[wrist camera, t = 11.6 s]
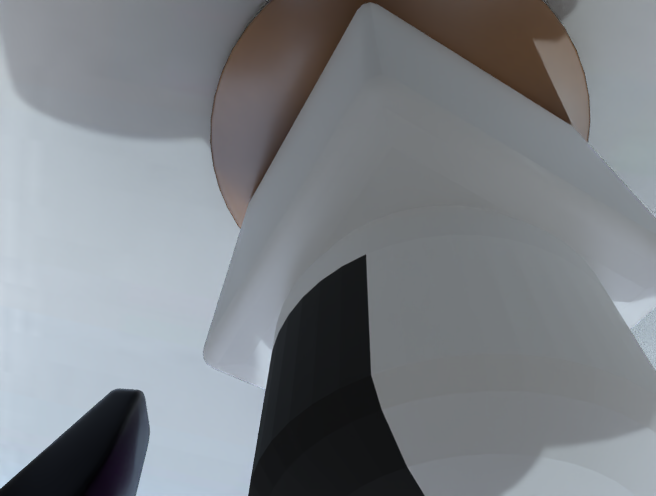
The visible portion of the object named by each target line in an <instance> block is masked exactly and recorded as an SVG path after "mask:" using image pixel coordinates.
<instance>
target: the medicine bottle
mask: <svg viewBox="0 0 656 496" xmlns="http://www.w3.org/2000/svg"><path fill="white" fill-rule="evenodd" d="M655 308H656V218H655V217H654V216H653V215H652V214H651V213H650V212H649V210H648V209H647V208H646V207H645V206H644V205H643V204H642V203H641V201H640V200H639V199H638V198H637V197H636V196H635V195H634V194H633V193H632V191H631V190H630V189H629V188H628V187H627V186H626V185H625V184H624V183H623V181H622V180H621V179H620V178H619V177H618V176H617V175H616V174H615V173H614V171H613V170H612V169H611V168H610V167H609V166H608V165H607V164H606V163H605V161H604V160H603V159H602V158H601V157H600V156H599V155H598V154H597V152H596V151H595V150H594V149H593V148H592V147H591V146H590V145H589V144H588V142H587V141H586V140H585V139H584V138H583V137H582V136H581V135H580V134H579V132H578V131H577V130H576V129H575V128H574V127H573V126H571V125H570V124H568V123H566V122H565V121H563V120H562V119H560V118H558V117H557V116H555V115H554V114H552V113H550V112H549V111H547V110H546V109H544V108H542V107H541V106H539V105H538V104H536V103H534V102H533V101H531V100H530V99H528V98H526V97H525V96H523V95H522V94H520V93H518V92H517V91H515V90H514V89H512V88H510V87H509V86H507V85H506V84H504V83H503V82H501V81H499V80H498V79H496V78H495V77H493V76H491V75H490V74H488V73H487V72H485V71H483V70H482V69H480V68H479V67H477V66H475V65H474V64H472V63H471V62H469V61H467V60H466V59H464V58H463V57H461V56H459V55H458V54H456V53H455V52H453V51H451V50H450V49H448V48H447V47H445V46H443V45H442V44H440V43H439V42H437V41H435V40H434V39H432V38H431V37H429V36H427V35H426V34H424V33H423V32H421V31H419V30H418V29H416V28H415V27H413V26H412V25H410V24H408V23H407V22H405V21H404V20H402V19H400V18H399V17H397V16H396V15H394V14H392V13H391V12H389V11H388V10H386V9H384V8H383V7H381V6H380V5H378V4H375V3H371V2H369V3H366V4H363V5H362V6H361V7H360V8H359V9H358V10H357V11H356V13H355V15H354V17H353V19H352V20H351V22H350V24H349V26H348V27H347V29H346V31H345V33H344V35H343V36H342V38H341V40H340V42H339V44H338V45H337V47H336V49H335V51H334V52H333V54H332V56H331V58H330V60H329V61H328V63H327V65H326V67H325V68H324V70H323V72H322V74H321V76H320V77H319V79H318V81H317V83H316V85H315V86H314V88H313V90H312V92H311V93H310V95H309V97H308V99H307V101H306V102H305V104H304V106H303V108H302V109H301V111H300V113H299V115H298V117H297V118H296V120H295V122H294V124H293V126H292V127H291V129H290V131H289V133H288V134H287V136H286V138H285V140H284V142H283V143H282V145H281V147H280V149H279V150H278V152H277V154H276V156H275V158H274V159H273V161H272V163H271V165H270V167H269V168H268V170H267V172H266V174H265V175H264V177H263V179H262V181H261V183H260V184H259V186H258V188H257V190H256V191H255V193H254V195H253V197H252V199H251V200H250V202H249V204H248V207H247V211H246V214H245V217H244V220H243V223H242V227H241V230H240V233H239V236H238V240H237V243H236V246H235V249H234V252H233V256H232V259H231V262H230V265H229V268H228V272H227V275H226V278H225V281H224V284H223V288H222V291H221V294H220V297H219V301H218V304H217V307H216V310H215V313H214V317H213V320H212V323H211V326H210V329H209V333H208V336H207V339H206V342H205V345H204V351H203V356H204V360H205V362H206V364H207V365H209V366H210V367H212V368H214V369H216V370H219V371H221V372H223V373H226V374H228V375H231V376H233V377H235V378H238V379H240V380H243V381H245V382H247V383H250V384H252V385H255V386H257V387H259V388H262V389H264V390H266V391H265V397H264V403H263V409H262V415H261V421H260V427H259V433H258V439H257V445H256V451H255V457H254V464H253V470H252V476H251V482H250V488H249V495H248V496H656V371H655V369H654V368H653V366H652V364H651V363H650V361H649V360H648V358H647V356H646V355H645V353H644V352H643V350H642V348H641V347H640V345H639V343H638V342H637V340H636V339H635V337H634V335H633V334H632V332H631V331H630V330H631V329H632V328H633V327H635V326H636V325H637V324H638V323H639V322H640V321H641V320H642V319H644V318H645V317H646V316H647V315H648V314H649V313H650V312H651V311H653V310H654V309H655Z"/></svg>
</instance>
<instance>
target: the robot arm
mask: <svg viewBox="0 0 656 496" xmlns="http://www.w3.org/2000/svg"><path fill="white" fill-rule="evenodd" d="M149 435H150V427H149V420H148V414H147V407H146V401H145V396H144V394H143V392H142V391H140V390H133V389H115V390H113V391H111V392H110V393H109V394H108V395H106V396H105V397H104V398H103V399H102V400H101V401H100V402H98V403H97V404H96V405H95V406H94V407H93V408H92V409H91V410H89V411H88V412H87V413H86V414H85V415H84V416H83V417H81V418H80V419H79V420H78V421H77V422H76V423H75V424H73V425H72V426H71V427H70V428H69V429H68V430H67V431H66V432H64V433H63V434H62V435H61V436H60V437H59V438H58V439H56V440H55V441H54V442H53V443H52V444H51V445H50V446H49V447H47V448H46V449H45V450H44V451H43V452H42V453H41V454H39V455H38V456H37V457H36V458H35V459H34V460H33V461H31V462H30V463H29V464H28V465H27V466H26V467H25V468H24V469H22V470H21V471H20V472H19V473H18V474H17V475H16V476H14V477H13V478H12V479H11V480H10V481H9V482H8V483H7V484H5V485H4V486H3V487H2V488H1V489H0V496H136V492H137V488H138V484H139V480H140V476H141V472H142V467H143V463H144V459H145V455H146V451H147V447H148V442H149Z"/></svg>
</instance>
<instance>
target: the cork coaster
mask: <svg viewBox="0 0 656 496" xmlns="http://www.w3.org/2000/svg"><path fill="white" fill-rule="evenodd" d="M369 2H371V3H375V4H378V5H380V6H381V7H383V8H384V9H386V10H388V11H389V12H391V13H392V14H394V15H396V16H397V17H399V18H400V19H402V20H404V21H405V22H407V23H408V24H410V25H412V26H413V27H415V28H416V29H418V30H419V31H421V32H423V33H424V34H426V35H427V36H429V37H431V38H432V39H434V40H435V41H437V42H439V43H440V44H442V45H443V46H445V47H447V48H448V49H450V50H451V51H453V52H455V53H456V54H458V55H459V56H461V57H463V58H464V59H466V60H467V61H469V62H471V63H472V64H474V65H475V66H477V67H479V68H480V69H482V70H483V71H485V72H487V73H488V74H490V75H491V76H493V77H495V78H496V79H498V80H499V81H501V82H503V83H504V84H506V85H507V86H509V87H510V88H512V89H514V90H515V91H517V92H518V93H520V94H522V95H523V96H525V97H526V98H528V99H530V100H531V101H533V102H534V103H536V104H538V105H539V106H541V107H542V108H544V109H546V110H547V111H549V112H550V113H552V114H554V115H555V116H557V117H558V118H560V119H562V120H563V121H565V122H566V123H568V124H570V125H571V126H573V127H574V128H575V129H576V130H577V131H578V132H579V134H580V135H581V136H582V137H583V138H584V139H585V140H586V141H587V142H588V137H589V127H590V106H589V94H588V88H587V83H586V78H585V73H584V70H583V67H582V64H581V62H580V59H579V56H578V53H577V50H576V48H575V46H574V44H573V43H572V41H571V39H570V37H569V35H568V33H567V31H566V30H565V28H564V26H563V25H562V24H561V22H560V21H559V20H558V18H557V17H556V16H555V14H554V13H553V12H552V10H551V9H550V8H549V7H548V5H547V4H545V3H544V2H543V1H542V0H271V1H269V2H268V3H267V4H266V5H265V6H264V8H263V9H262V10H261V11H260V12H259V13H258V14H257V16H256V17H255V18H254V19H253V20H252V21H251V22H250V24H249V25H248V26H247V28H246V29H245V31H244V32H243V34H242V35H241V37H240V38H239V40H238V42H237V43H236V45H235V46H234V48H233V49H232V52H231V54H230V56H229V58H228V60H227V62H226V64H225V66H224V69H223V71H222V73H221V77H220V80H219V83H218V86H217V90H216V93H215V96H214V103H213V109H212V115H211V139H210V143H211V152H212V160H213V167H214V170H215V174H216V178H217V182H218V186H219V188H220V191H221V193H222V196H223V198H224V200H225V203H226V205H227V207H228V209H229V211H230V213H231V214H232V216H233V218H234V220H235V221H236V223H237V225H238V226H239V228H240V229H241V227H242V223H243V220H244V217H245V214H246V211H247V207H248V204H249V202H250V200H251V199H252V197H253V195H254V193H255V191H256V190H257V188H258V186H259V184H260V183H261V181H262V179H263V177H264V175H265V174H266V172H267V170H268V168H269V167H270V165H271V163H272V161H273V159H274V158H275V156H276V154H277V152H278V150H279V149H280V147H281V145H282V143H283V142H284V140H285V138H286V136H287V134H288V133H289V131H290V129H291V127H292V126H293V124H294V122H295V120H296V118H297V117H298V115H299V113H300V111H301V109H302V108H303V106H304V104H305V102H306V101H307V99H308V97H309V95H310V93H311V92H312V90H313V88H314V86H315V85H316V83H317V81H318V79H319V77H320V76H321V74H322V72H323V70H324V68H325V67H326V65H327V63H328V61H329V60H330V58H331V56H332V54H333V52H334V51H335V49H336V47H337V45H338V44H339V42H340V40H341V38H342V36H343V35H344V33H345V31H346V29H347V27H348V26H349V24H350V22H351V20H352V19H353V17H354V15H355V13H356V11H357V10H358V9H359V8H360V7H361V6H362V5H363V4H366V3H369Z"/></svg>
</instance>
